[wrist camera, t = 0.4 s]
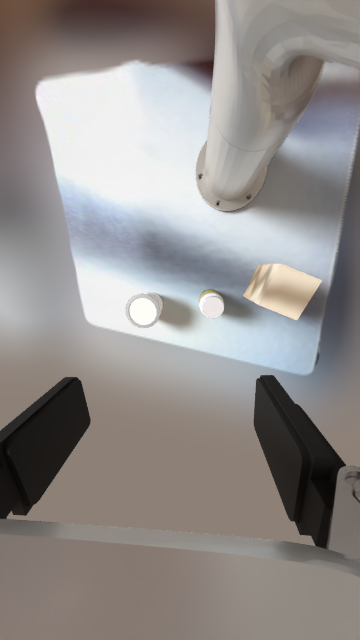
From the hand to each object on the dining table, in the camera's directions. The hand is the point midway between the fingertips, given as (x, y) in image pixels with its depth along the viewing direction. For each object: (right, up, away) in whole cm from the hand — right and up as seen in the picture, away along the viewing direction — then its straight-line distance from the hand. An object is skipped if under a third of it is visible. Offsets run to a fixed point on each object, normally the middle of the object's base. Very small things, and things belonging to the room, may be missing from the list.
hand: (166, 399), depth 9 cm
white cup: (-6, +8, +32) cm, 33 cm away
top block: (+19, +10, +24) cm, 32 cm away
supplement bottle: (+7, +9, +30) cm, 32 cm away
